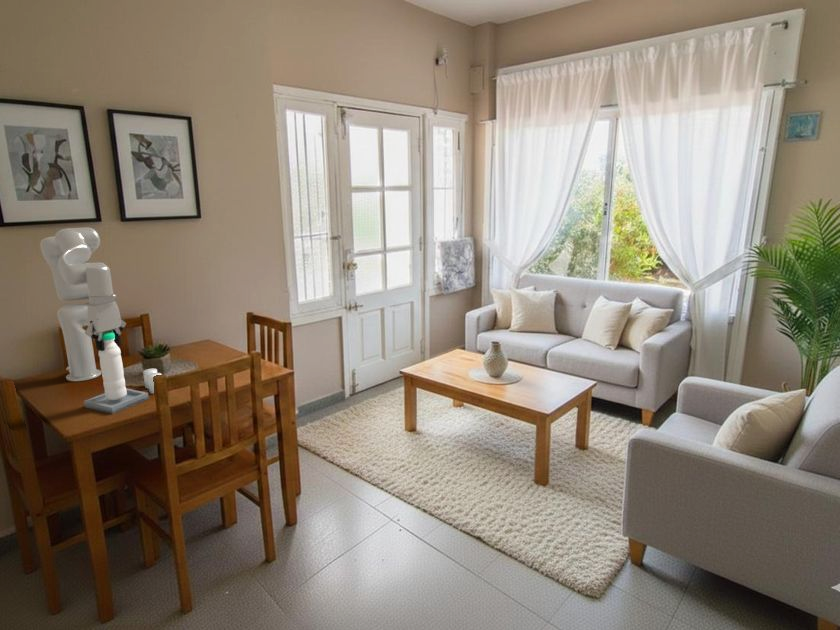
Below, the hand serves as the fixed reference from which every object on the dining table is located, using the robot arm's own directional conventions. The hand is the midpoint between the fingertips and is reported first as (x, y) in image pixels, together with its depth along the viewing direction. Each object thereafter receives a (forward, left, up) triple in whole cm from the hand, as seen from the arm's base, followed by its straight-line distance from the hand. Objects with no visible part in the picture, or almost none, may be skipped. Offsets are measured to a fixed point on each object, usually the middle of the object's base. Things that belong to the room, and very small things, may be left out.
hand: (109, 347), depth 188 cm
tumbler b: (-2, +17, -22) cm, 28 cm away
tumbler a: (+4, +14, -22) cm, 26 cm away
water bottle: (0, 0, -20) cm, 20 cm away
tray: (0, 0, -22) cm, 22 cm away
